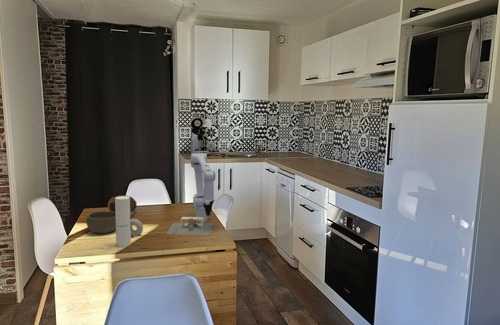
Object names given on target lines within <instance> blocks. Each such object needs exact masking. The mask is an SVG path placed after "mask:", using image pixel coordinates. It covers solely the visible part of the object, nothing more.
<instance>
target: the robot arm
mask: <svg viewBox="0 0 500 325" xmlns="http://www.w3.org/2000/svg"><path fill="white" fill-rule="evenodd" d="M207 155H208V154H207V153H206V152H204V153H203V152H202V153H199V152H198V153H193V152H192V153H191V154H190V160H189V161H190V167H191V168H193V171H194V177H195V178H194V180H195V185H196V186H195V188H196V193H195V194H194V195H193V196H192V200H193V201H192V204H193V208H195V217H203V223H205V222H207V221H208V216H209V217H210V216H211V212H212V210H213V205H214V203H215V195H214V194H215V182H214V181H215V180H216V172H215V171H214V170H212V169H211V167H210V165H209V163H207V162H208V156H207ZM197 223H201V220H197Z"/></svg>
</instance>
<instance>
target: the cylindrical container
mask: <svg viewBox="0 0 500 325" xmlns="http://www.w3.org/2000/svg"><path fill="white" fill-rule="evenodd" d="M118 196H119V197H116V196H115V197H116V198H115V215H116V229H115V241H116V242H115V244H116V245H115V246H116V247H119V248H125V247H129V246H131V243H132V239H131V238H132V236H131V231H130V220H131V216H130V197H131V196H130V197H128V196H129V195H126V196H121V195H118Z"/></svg>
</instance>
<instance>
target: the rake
mask: <svg viewBox="0 0 500 325" xmlns="http://www.w3.org/2000/svg"><path fill="white" fill-rule="evenodd" d="M188 223H189V224H188V226H189V231H193V226H198V224H193V218H189V220H188Z"/></svg>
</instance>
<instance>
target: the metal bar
mask: <svg viewBox="0 0 500 325" xmlns="http://www.w3.org/2000/svg"><path fill="white" fill-rule="evenodd" d="M177 229H178V227H177V226H175V228H174V229H173V231H172V234H171V235H176V234H175V232H176V231H177Z"/></svg>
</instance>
